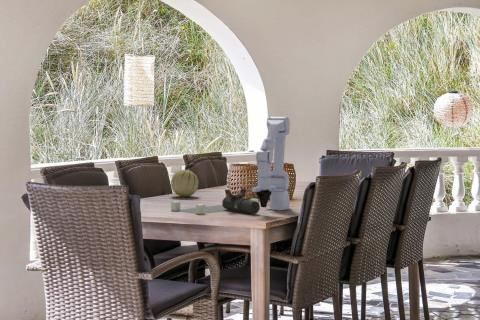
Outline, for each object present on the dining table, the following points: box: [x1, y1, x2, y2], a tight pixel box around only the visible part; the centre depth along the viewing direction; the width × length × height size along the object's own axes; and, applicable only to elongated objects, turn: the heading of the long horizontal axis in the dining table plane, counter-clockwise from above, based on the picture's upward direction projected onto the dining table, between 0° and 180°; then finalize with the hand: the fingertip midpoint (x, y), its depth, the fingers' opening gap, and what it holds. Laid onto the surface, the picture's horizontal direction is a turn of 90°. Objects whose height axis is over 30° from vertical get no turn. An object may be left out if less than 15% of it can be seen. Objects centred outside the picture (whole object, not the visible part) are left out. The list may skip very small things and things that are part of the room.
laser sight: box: [221, 188, 261, 215], centre depth 378 cm, size 10×22×10 cm, turn 36°
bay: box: [170, 195, 259, 215], centre depth 389 cm, size 40×19×4 cm, turn 138°
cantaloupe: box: [170, 168, 199, 198], centre depth 441 cm, size 15×15×15 cm
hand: (263, 207), depth 369 cm, fingers closed
